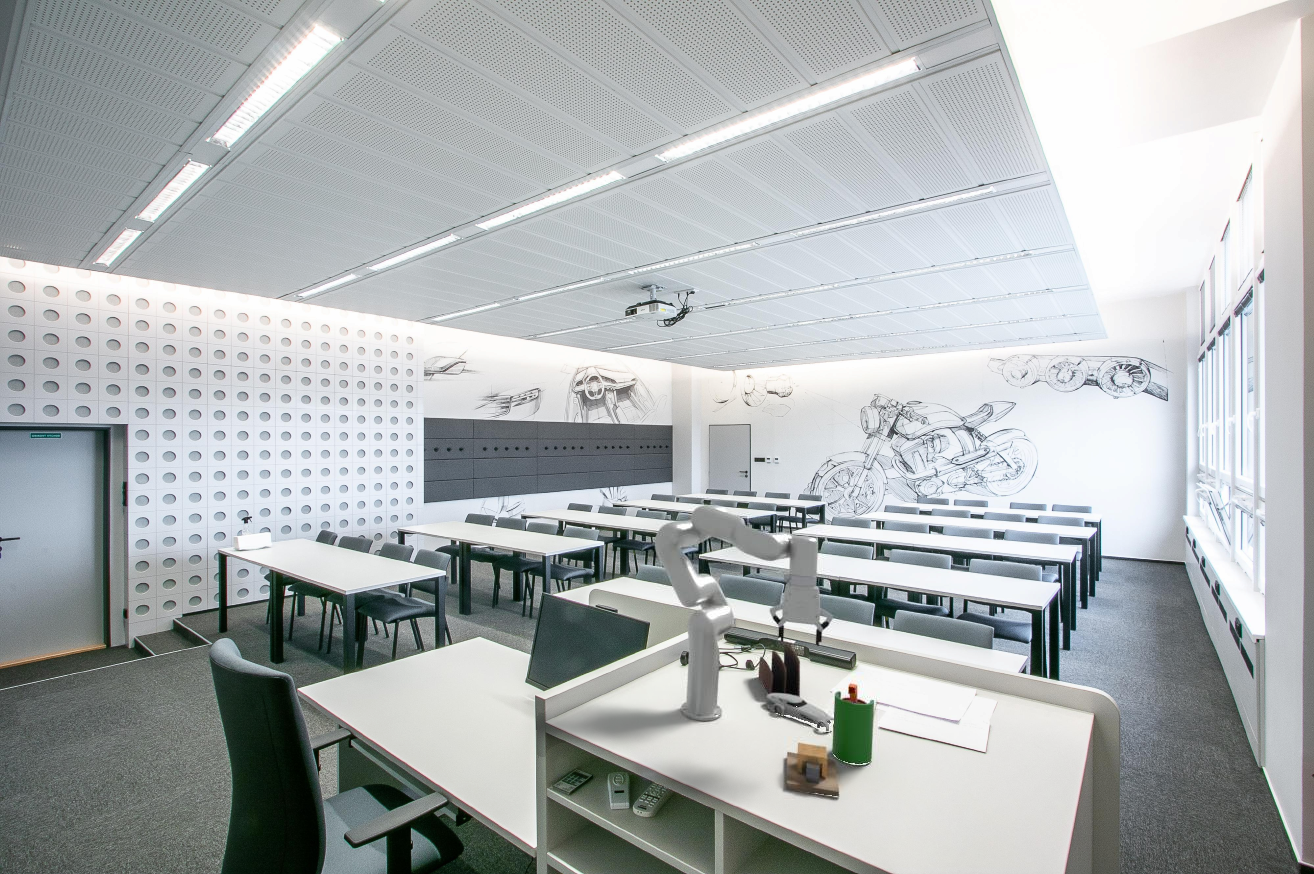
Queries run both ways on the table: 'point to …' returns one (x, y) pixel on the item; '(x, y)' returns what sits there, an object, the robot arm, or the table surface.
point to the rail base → (799, 783)
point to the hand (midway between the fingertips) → (799, 642)
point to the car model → (798, 709)
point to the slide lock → (812, 756)
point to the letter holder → (781, 673)
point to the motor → (852, 728)
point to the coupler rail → (812, 772)
